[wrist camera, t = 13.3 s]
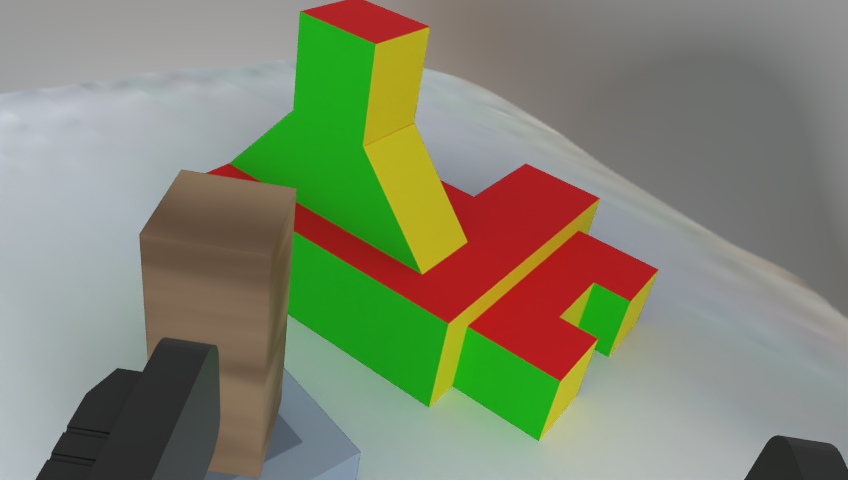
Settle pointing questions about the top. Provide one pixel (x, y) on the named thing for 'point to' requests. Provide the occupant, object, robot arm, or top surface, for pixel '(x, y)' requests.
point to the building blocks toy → (433, 236)
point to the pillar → (225, 297)
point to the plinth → (303, 443)
